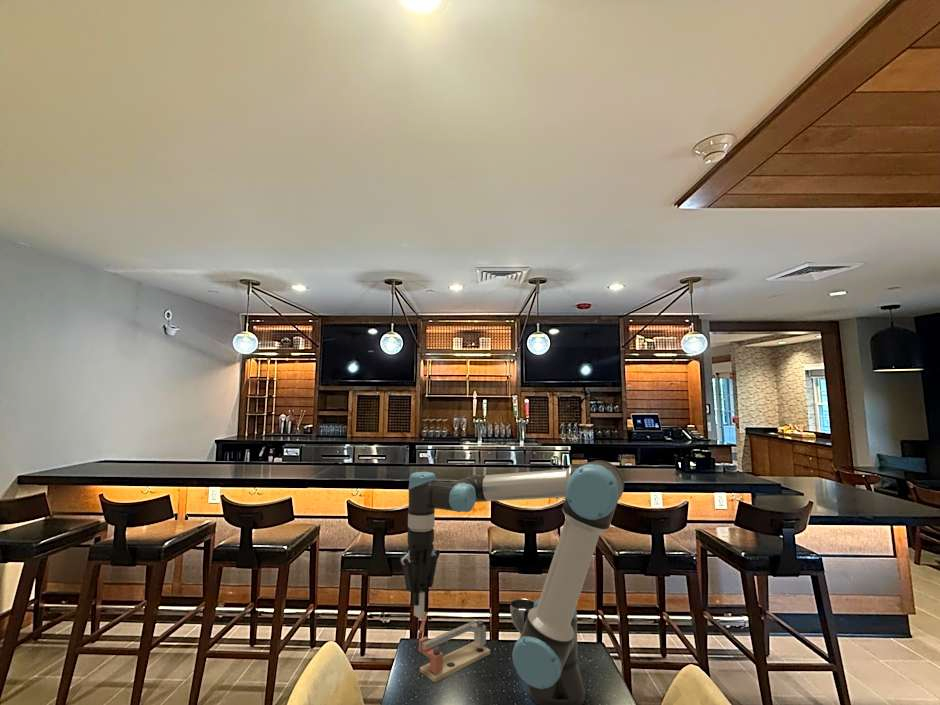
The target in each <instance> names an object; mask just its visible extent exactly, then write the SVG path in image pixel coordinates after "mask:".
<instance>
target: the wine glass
mask: <svg viewBox="0 0 940 705" xmlns="http://www.w3.org/2000/svg"><path fill="white" fill-rule="evenodd" d="M534 602H535V601H534V600H531V599H527V598H516V599H513V600H511V601H510V607H509V609H510V616H511V618H510V619H511V621H512V624H513V625H514V627H515V628H516V630H517V631H518V633H519V634H520V635H521V634H522V631H523V628H524V625H525V622H526V619H527V616H528V613H529V611H530V610H531V609H532V608H534ZM512 654H513V652H512ZM512 654H511V655H512Z"/></svg>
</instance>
